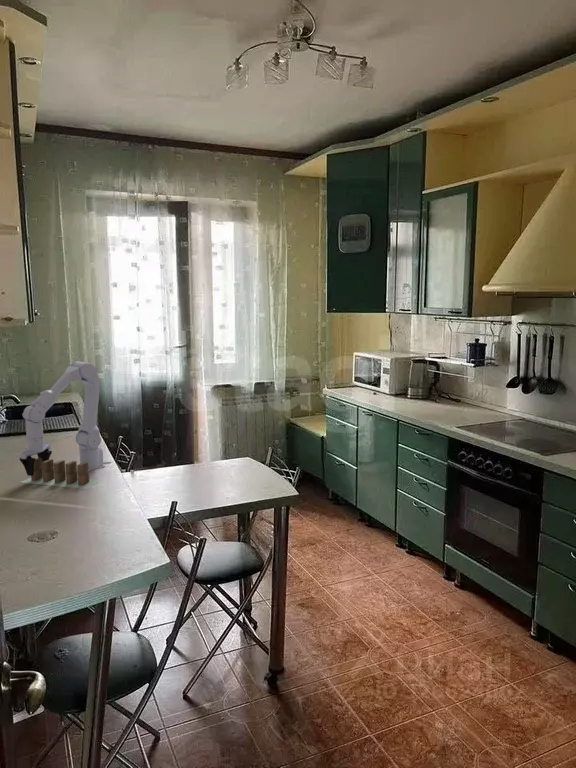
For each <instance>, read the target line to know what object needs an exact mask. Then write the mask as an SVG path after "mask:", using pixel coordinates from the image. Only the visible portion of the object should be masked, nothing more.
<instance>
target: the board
mask: <svg viewBox="0 0 576 768" xmlns="http://www.w3.org/2000/svg"><path fill="white" fill-rule="evenodd" d="M99 482H101V480H99V479H90V478H89V482H88V483H86V484H84V485H82V486H81V485H78V477H77V481H76V482H74V483H72V484H66V480H64V481H62V482H60V483H55V478H54V479H53V480H50V481H48V482H43V478H41V479H39V480H36V481H31V476H30V477H28V478H26V479H24V480H21V481H20V483H24V484H32V485H43V486H50V487H51V486H52V487H63V488H72V489H84V490H86V489H88V488H89V487H92V486H93V485H95V484H97V483H99Z"/></svg>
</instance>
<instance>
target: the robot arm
mask: <svg viewBox="0 0 576 768" xmlns="http://www.w3.org/2000/svg"><path fill="white" fill-rule="evenodd" d="M100 379H101V378H100V377H99V374H98V368H97V367H96V366H95V365H94V364H93V363H92V362H84V361H80V360H75V361H73V362H72V363H71V364H70V365H69V366H67V367H66V369H65V371H64V372H63V374H62V375H61V376H60V378H59V379H58V380H57V381H56V382H55V383H54V384H53V385H52V386H51V388H50V389H45V390H44V391H41V392H40V393H39V396H38V397H37V398H36V399H35V400H34V401H32V402H31V403H30V404H31V405H29V406H26V407H25V408H24V409H23V413H21V415H22V417H23V419H24V420H25V433H26V447H27V448H25V450H24V451H23V452H21V453H20V454H19V455H20V457H19V461H20V462H21V464H22V466H23V467H24V469H25V472H26V475H27V476H28V477H29V476H30V477H31V476H33V473H34V462H35V459H37V458H42V462H44V461H46V460H49V459H51V455H52V453H53V452H52V450H51V444H47V443H45V444H44V430H43V429H44V427H43V420H44V419H45V417H46V413H47V412H48V411H49V409H50V408H51V407H52V406H53V405H54V404H55V403H56V402H57V401H58V395H59V394H60V393H61V392H63V391H64V390H65V388H66V387H68V386H69V384H71V383H72V382H75V381H81V382H82V383H83V384H84V385H85V390H84V391H85V392H84V401H83V402H84V403H83V412H82V422H81V424H80V426H78V431H77V433H76V436H75V442H76V444H77V445H78V451H79V453H78V455H79V464H81V463H83V462H88V469H89V471H92V470H97V469H98V468H100V469H102V468H104V467H106V464H104V451H103V449H102V447H101V446H100V445H101V442H102V439H101V438H102V437H101V436H100V432H101V431H100V429H99V427H98V425H97V422H98V421H97V420H98V411H99V401H100V392H101V391H100V390H101V380H100ZM35 455H37V458H35V457H33V456H35Z"/></svg>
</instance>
